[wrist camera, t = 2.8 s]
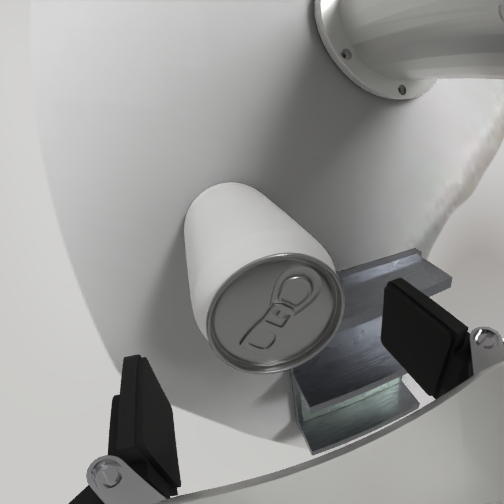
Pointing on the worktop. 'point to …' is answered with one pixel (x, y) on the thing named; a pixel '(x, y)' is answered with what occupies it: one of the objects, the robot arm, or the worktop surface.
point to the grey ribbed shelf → (360, 358)
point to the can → (258, 281)
